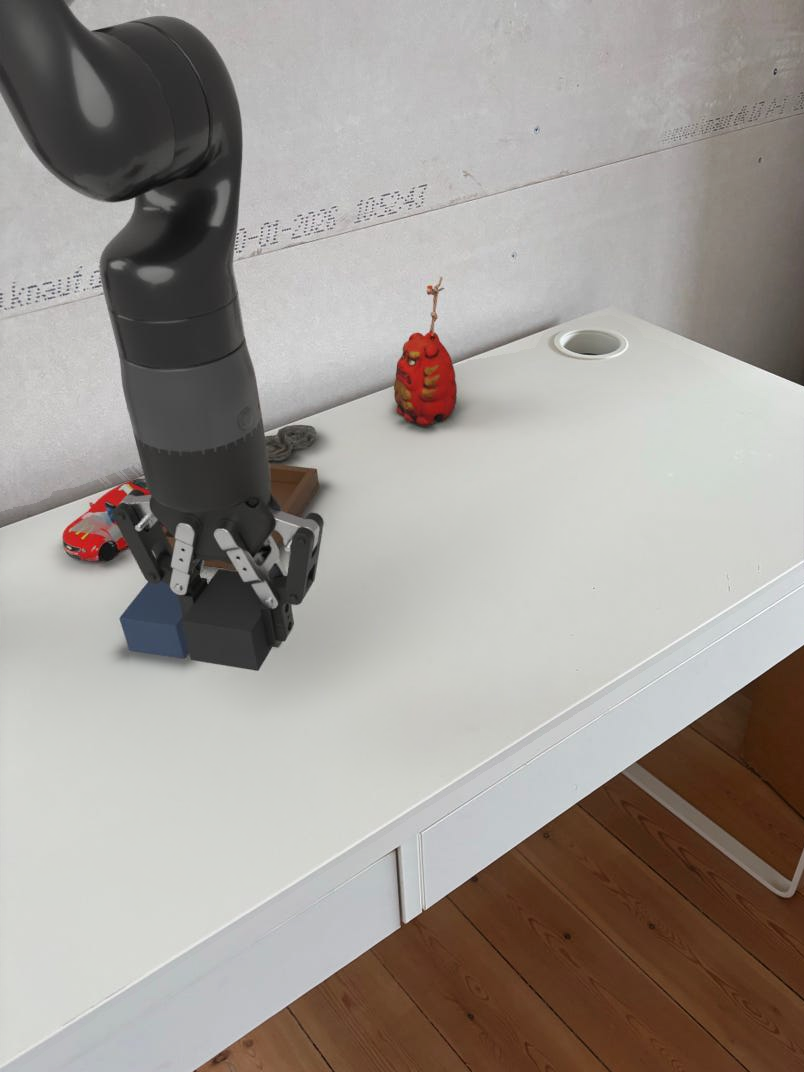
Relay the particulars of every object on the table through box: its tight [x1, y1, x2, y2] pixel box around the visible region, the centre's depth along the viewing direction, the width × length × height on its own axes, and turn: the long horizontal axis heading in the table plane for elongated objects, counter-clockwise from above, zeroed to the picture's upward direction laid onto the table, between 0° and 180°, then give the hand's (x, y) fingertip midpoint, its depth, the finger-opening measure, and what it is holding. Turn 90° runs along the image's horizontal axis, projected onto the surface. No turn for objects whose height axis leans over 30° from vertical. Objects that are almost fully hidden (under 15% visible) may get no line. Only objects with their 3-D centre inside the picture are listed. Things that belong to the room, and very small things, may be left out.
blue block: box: [118, 581, 189, 659], centre depth 85 cm, size 5×6×4 cm
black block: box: [181, 568, 273, 672], centre depth 70 cm, size 5×6×4 cm
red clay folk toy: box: [393, 276, 458, 428], centre depth 110 cm, size 8×7×15 cm
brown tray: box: [161, 462, 320, 571], centre depth 98 cm, size 11×15×2 cm
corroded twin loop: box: [265, 424, 317, 462], centre depth 109 cm, size 5×8×1 cm, turn 136°
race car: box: [61, 476, 163, 562], centre depth 96 cm, size 13×5×4 cm, turn 143°
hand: (240, 633), depth 71 cm, fingers closed on black block, 5 cm apart
